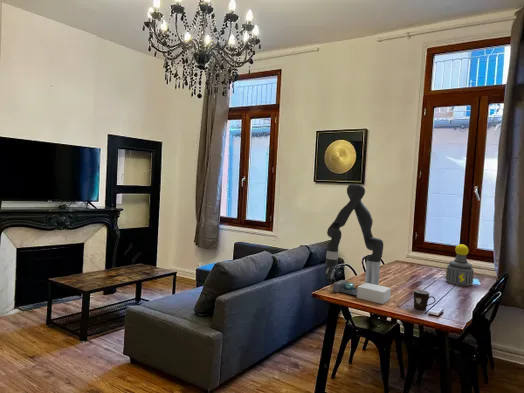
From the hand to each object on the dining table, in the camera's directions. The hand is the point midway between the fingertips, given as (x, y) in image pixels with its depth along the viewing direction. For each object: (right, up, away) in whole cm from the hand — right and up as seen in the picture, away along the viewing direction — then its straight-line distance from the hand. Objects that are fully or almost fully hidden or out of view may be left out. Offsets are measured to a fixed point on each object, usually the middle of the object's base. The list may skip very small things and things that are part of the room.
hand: (329, 283), depth 251 cm
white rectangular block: (+24, -5, -16) cm, 30 cm away
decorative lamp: (+107, -9, +42) cm, 115 cm away
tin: (+11, -2, -7) cm, 13 cm away
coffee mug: (+47, -8, -32) cm, 58 cm away
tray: (+12, -4, -8) cm, 15 cm away
